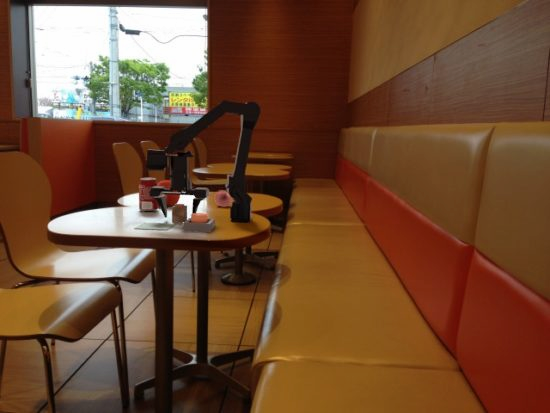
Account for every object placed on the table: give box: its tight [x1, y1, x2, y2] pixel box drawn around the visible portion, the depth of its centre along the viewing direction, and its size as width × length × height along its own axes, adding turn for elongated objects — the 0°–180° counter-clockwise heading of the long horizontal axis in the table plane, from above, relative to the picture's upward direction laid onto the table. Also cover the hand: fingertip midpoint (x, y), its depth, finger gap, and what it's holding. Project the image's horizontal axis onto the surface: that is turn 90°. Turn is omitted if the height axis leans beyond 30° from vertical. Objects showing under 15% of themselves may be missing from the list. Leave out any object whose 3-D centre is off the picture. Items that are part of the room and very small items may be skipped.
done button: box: [190, 212, 209, 223], centre depth 138 cm, size 5×5×3 cm
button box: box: [182, 217, 216, 233], centre depth 138 cm, size 8×8×2 cm
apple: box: [157, 179, 181, 207], centre depth 179 cm, size 10×10×10 cm
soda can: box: [138, 177, 159, 212], centre depth 166 cm, size 7×7×12 cm
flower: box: [213, 189, 234, 208], centre depth 182 cm, size 8×8×6 cm
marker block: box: [171, 203, 188, 223], centre depth 149 cm, size 4×4×6 cm
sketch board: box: [133, 222, 176, 231], centre depth 140 cm, size 10×9×1 cm
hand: (179, 218), depth 150 cm, fingers open, 9 cm apart
